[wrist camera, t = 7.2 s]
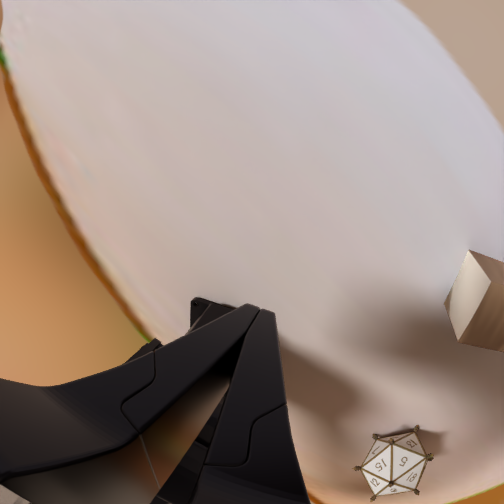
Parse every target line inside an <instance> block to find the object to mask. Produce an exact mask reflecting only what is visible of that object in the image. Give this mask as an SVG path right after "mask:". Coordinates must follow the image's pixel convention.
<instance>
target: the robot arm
mask: <svg viewBox="0 0 504 504" xmlns="http://www.w3.org/2000/svg"><path fill="white" fill-rule="evenodd" d="M196 303H198V304H196ZM286 404H287V401H286V393H285V385H284V377H283V369H282V362H281V354H280V346H279V339H278V331H277V324H276V316H275V313H274V312H271V311H268V310H266V309H261V310H260V308H259V307H257V306H254V305H251V304H248V303H247V304H244V305H242V306H240V307H239V308H237V309H235V310H234V309H231V308H228V307H225V306H222V305H219V304H216V303H213V302H210V301H207V300H204V299H201V298H198V297H195V298H194V299H193V300H192V301H191V313H190V329H189V331H188V332H187V333H186V334H185V335H184V336H182V337H180V338H178V339H176V340H174V341H172V342H170V343H168V344H166V345H162V344H161V342H160V341H159V340H157V339H156V338H155V339H153V340H152V341H151V342H150V343H149V344H148V343H146V345H144V346H142V347H141V349H140V350H139V351H138V352H137V353H135V354H134V355H133V356H132V357H131V358H130V359H129V360H128V361H126V362H125V363H124V364H122V365H120V366H117V367H115V368H112V369H109V370H106V371H103V372H100V373H97V374H94V375H91V376H88V377H85V378H81V379H78V380H75V381H71V382H68V383H65V384H61V385H55V386H33V385H28V384H23V383H19V382H14V381H10V380H5V379H1V378H0V504H311V503H310V500H309V497H308V494H307V490H306V487H305V483H304V480H303V476H302V473H301V469H300V466H299V462H298V459H297V455H296V452H295V447H294V443H293V439H292V435H291V429H290V423H289V416H288V408H287V405H286Z"/></svg>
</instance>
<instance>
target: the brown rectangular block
mask: <svg viewBox="0 0 504 504" xmlns="http://www.w3.org/2000/svg"><path fill="white" fill-rule="evenodd" d="M444 305H445V307H446V310H447V313H448V315H449V318H450V321H451V324H452V327H453V330H454V332H455V335H456V338H457V342H459V343H463V344H468V345H472V346H477V347H482V348H486V349H491V350H496V351H501V352H504V263H503V262H501V261H498V260H496V259H493V258H490V257H488V256H485V255H482V254H480V253H477V252H474V251H471V250H468V252H467V255H466V257H465V260H464V262H463V264H462V267H461V269H460V271H459V273H458V276H457V278H456V280H455V282H454V284H453V286H452V288H451V290H450V292H449V295H448V297H447V299H446V301H445V302H444Z"/></svg>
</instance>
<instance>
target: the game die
mask: <svg viewBox="0 0 504 504" xmlns="http://www.w3.org/2000/svg"><path fill="white" fill-rule="evenodd" d="M418 429H419V428H418V425H417V426H416V427H415V428H414V431H413V432H409V433H404V434H400V435H395V436H389V437H384V438H378V436H377V435H375V434H373V437H372V438H374V439H375V440H376V441H375V443H374V444H373V446H372V448H371V450H370V452H369V453H368V455H367V457H366V459H365V460H364V462H363V464H362V465H361V467H359V466H356V467H354V468H352V469H354V470H355V471H356V470H361V472H362V474H363V476H364V477H365V479H366V481H367V483H368V485H369V487H370V488H371V490H372V492H373V494H374V496H373V497H372V498H370V499H371V501H370V502H372V501H374V500H375V499H376V496H382V495H390V494H397V493H403V492H409V491H414V493H415V494H416V495H419V492H420V491H418V490H417V489H416V488H417V486H418V484H419V481H420V479H421V477H422V474H423V472H424V469H425V467H426V464H427V462H428V461H432V459H434V458H433V456H434V455H433V454H431V453H430V454H428V455H427V454H426V452H425V450H424V448H423V446H422V444H421V442H420V440H419V438H418V436H417V434H416V431H418Z"/></svg>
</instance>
